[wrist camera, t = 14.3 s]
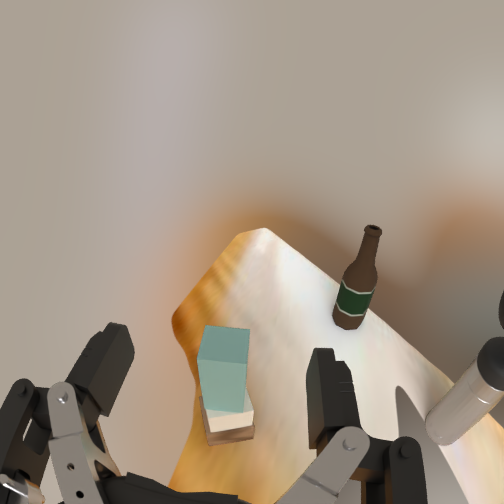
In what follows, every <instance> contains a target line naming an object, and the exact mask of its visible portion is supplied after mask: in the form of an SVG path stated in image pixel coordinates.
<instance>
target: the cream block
mask: <svg viewBox="0 0 504 504" xmlns="http://www.w3.org/2000/svg"><path fill="white" fill-rule="evenodd" d="M206 414H207V418H208V422H209V427H210V431H211V432H218V431H224V430H230V429H235V428H241V427H246V426H251V425H252V421H253V414H254V409H253V406H252V403H251V400H250V397H249V394H248V391H247V388H245V399H244V410H243V413H236V412H226V411H217V410H209V409H206Z"/></svg>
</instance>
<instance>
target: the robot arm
mask: <svg viewBox="0 0 504 504" xmlns="http://www.w3.org/2000/svg"><path fill="white" fill-rule="evenodd" d="M499 320H500V324H501V326H502V328H503V329H504V291H503V294H502V297H501V300H500V304H499ZM134 353H135V352H134V346H133V343H132V340H131V338H130V334H129V332H128V328H127V326H126V325H122V324H117V323H112V322H110V323H109V324H108V325H107V326H106V328H105V329H104V331H103V332H100V331H99V332H98V333H97V334H95V335H94V336H93V337H92V338H91V339H90V340H89V342H88V344H87V345H86V348H85V349H84V350H83V352H82V353H81V355H80V357H79V358H78V360H77V362H76V363H75V365H74V367H73V368H72V370H71V372H70V374H69V375H68V377H67V379H66V380H65V381H64V382H58V383H56V384H54V385H53V386H52V387H51V388H41V387H35V386H34V385H33V384H32V382H31V381H30V380H28V379H19V380H17V381H16V382H15V383H14V384H13V386H12V387H11V390H10V391H9V393H8V395H7V397H6V399H5V401H4V403H3V405H2V407H1V409H0V504H43V503H44V502H45V498H44V496H43V495H42V493H41V490H40V484H41V481H42V478H43V474H44V471H45V468H46V465H47V462H48V459H49V456H50V454H51V459H52V463H53V467H54V470H55V474H56V478H57V481H58V485H59V488H60V491H61V494H62V497H63V500H64V501H62V502H60V503H58V504H251V503H248V502H246V501H244V500H240V499H238V495H230V494H221V493H214V492H190V493H181V492H177V491H174V490H172V489H170V488H168V487H166V486H164V485H162V484H160V483H158V482H156V481H154V480H153V479H149V478H145V477H142V476H139V475H136V474H133V473H130V472H127V476H121V474H120V472H119V470H118V468H117V466H116V464H115V463H114V461H113V460H112V458H111V456H110V454H109V451H108V448H107V446H106V443H105V440H104V437H103V434H102V431H101V428H100V424H99V421H98V417H99V415H100V414H101V415H104V416H107V417H108V416H109V414H110V412H111V409H112V407H113V404H114V402H115V400H116V397H117V395H118V393H119V391H120V388H121V386H122V384H123V381H124V379H125V377H126V375H127V372H128V371H129V368H130V366H131V364H132V362H133V359H134ZM352 382H353V380H352V375H351V371H350V369H349V368H348V366H347V365H346V363H345V362H344V361H335V355H334V350H333V349H332V348H314V350H313V353H312V356H311V360H310V363H309V366H308V369H307V374H306V392H307V410H308V433H309V449H317V457H316V459H315V460H314V461H313V462H312V463H311V465H310V466H309V467H308V468H307V469H306V470H305V472H304V473H303V474H302V475H301V476H300V477H299V478H298V479H297V481H296V482H295V483H294V484H293V485H292V486H291V487H290V488H289V489H288V490H287V491H286V492H285V493H284V494H283V495H282V496H281V497H280V498H279V499H278V500H277V501H276V502H275V503H274V504H334V503H335V501H336V500H337V498H338V494H339V492H340V490H341V489H342V488H343V486H344V485H345V484H346V482H347V481H348V479H352V480H357V481H361V504H428V502H427V491H426V481H425V473H424V466H423V459H422V453H421V448H420V445H419V443H418V442H417V441H416V440H415V439H413V438H411V437H407V436H406V437H400V438H398V439H396V440H395V441H388V440H382V439H376V438H373V437H371V436H369V435H368V434H367V433H366V432H365V431H364V430H363V429H362V427H361V424H360V419H359V413H358V407H357V402H356V396H355V392H354V386H353V383H352ZM503 397H504V337H495V338H492V339H490V340H489V341H487V343H485V345H484V346H483V348H482V349H481V350H480V352H479V353H478V355H477V356H476V357H475V359H474V360H473V362H472V363H471V364H470V366H469V367H468V368H467V370H466V371H465V372H464V374H463V375H462V376H461V377H460V379H459V380H458V381H457V382H456V383H455V385H454V386H453V387H452V388H451V389H450V391H449V392H448V393H447V394H446V395H445V396H444V397H443V398H442V400H441V401H440V402H439V403H438V404H437V405H436V406H435V407H434V408H433V409H432V410H431V411H430V412H429V414H428V415H427V418H426V422H425V427H426V432H427V434H428V436H429V437H430V439H431V440H432V441H434V442H435V443H437V444H439V445H449V444H452V443H453V442H455V441H456V440H457V439H459V438H460V437H461V436H462V435H463V434H465V433H466V432H467V431H468V430H469V429H471V428H472V427H473V426H474V425H475V424H476V423H477V422H479V421H480V420H481V419H482V418H483V417H484V416H485V415H486V414H487V413H488V412H489V411H490V410H491V409H492V408H493V407H494V406H495V405H496V404H497V403H498V402H499V401H500V400H501V399H502V398H503ZM30 418H31V419H32V422H31V424H30V427H29V429H28V431H27V434H26V436H25V439H24V441H23V434H24V432H25V430H26V427H27V425H28V423H29V420H30Z"/></svg>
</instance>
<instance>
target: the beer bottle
mask: <svg viewBox="0 0 504 504" xmlns="http://www.w3.org/2000/svg"><path fill="white" fill-rule="evenodd" d="M364 231H365V234H364V237H363V241H362V244H361V247H360V250H359V253H358V256H357V258H356V260H355V261H354V262H353V263H352V264H350V266H349V267H348V268H347V269H346V271H345V272H344V275H343V278H342V281H341V285H340V289H339V292H338V296H337V299H336V303H335V306H334V310H333V314H332V316H333V319H334V322H335V324H336V325H337V326H339V327H341V328H343V329H345V330H352V329H357V328H358V327H359V326H360V324H361V323H362V321H363V319H364V317H365V314H366V312H367V309H368V306H369V303H370V301H371V298H372V295H373V292H374V290H375V287H376V283H377V271H376V268H375V257H376V252H377V248H378V243H379V237H380V236H381V235H382V230H381V229H380V228H379V227H377V226H375V225H367V226H366V227H365V229H364Z"/></svg>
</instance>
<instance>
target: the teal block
mask: <svg viewBox="0 0 504 504" xmlns="http://www.w3.org/2000/svg"><path fill="white" fill-rule="evenodd" d="M249 335H250V329H239V328H228V327H218V326H209V325H206V326H205V329H204V333H203V337H202V341H201V344H200V348H199V352H198V356H197V363H198V370H199V377H200V384H201V390H202V396H203V402H204V408H205V409H209V410H217V411H226V412H236V413H243V410H244V399H245V388H246V376H247V362H248V349H249Z"/></svg>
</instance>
